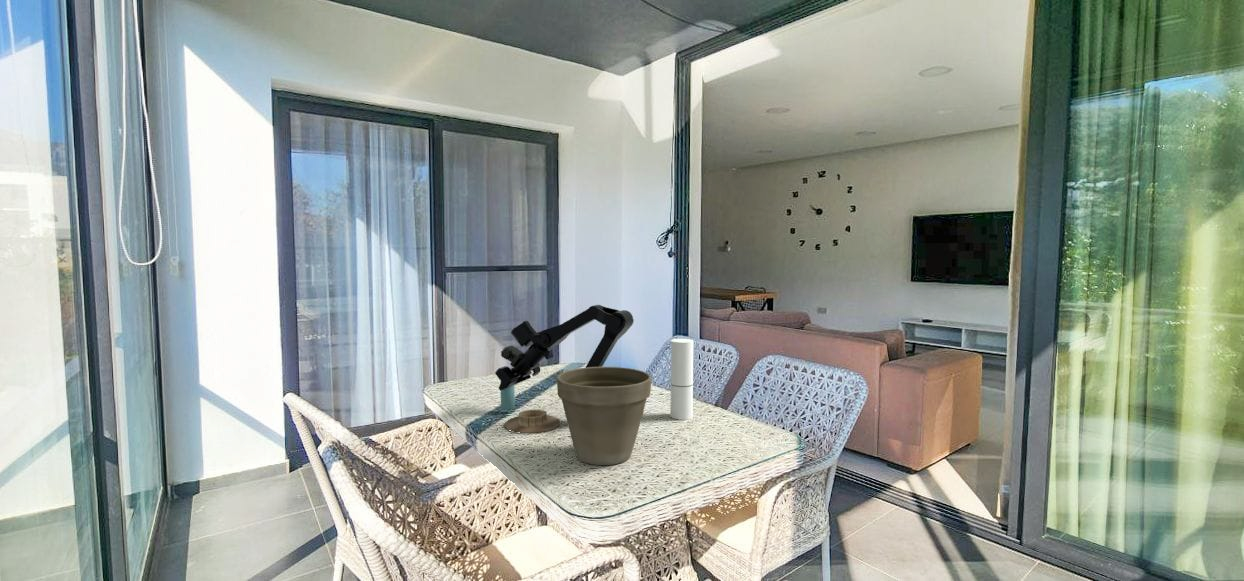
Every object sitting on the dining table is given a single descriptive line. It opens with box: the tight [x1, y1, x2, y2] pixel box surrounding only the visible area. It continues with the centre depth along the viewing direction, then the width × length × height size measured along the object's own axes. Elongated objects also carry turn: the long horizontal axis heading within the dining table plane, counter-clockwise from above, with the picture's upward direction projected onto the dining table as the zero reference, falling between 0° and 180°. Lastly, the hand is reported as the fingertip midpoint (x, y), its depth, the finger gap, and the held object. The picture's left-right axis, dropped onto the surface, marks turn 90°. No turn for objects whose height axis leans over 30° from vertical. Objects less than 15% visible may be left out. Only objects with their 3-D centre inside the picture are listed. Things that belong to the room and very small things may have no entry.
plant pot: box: [556, 366, 652, 466], centre depth 149 cm, size 25×25×22 cm
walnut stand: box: [504, 408, 561, 434], centre depth 175 cm, size 17×17×4 cm
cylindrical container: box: [669, 338, 694, 421], centre depth 182 cm, size 7×7×25 cm
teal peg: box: [499, 367, 516, 411], centre depth 187 cm, size 4×4×13 cm
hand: (504, 387), depth 187 cm, fingers closed on teal peg, 4 cm apart
